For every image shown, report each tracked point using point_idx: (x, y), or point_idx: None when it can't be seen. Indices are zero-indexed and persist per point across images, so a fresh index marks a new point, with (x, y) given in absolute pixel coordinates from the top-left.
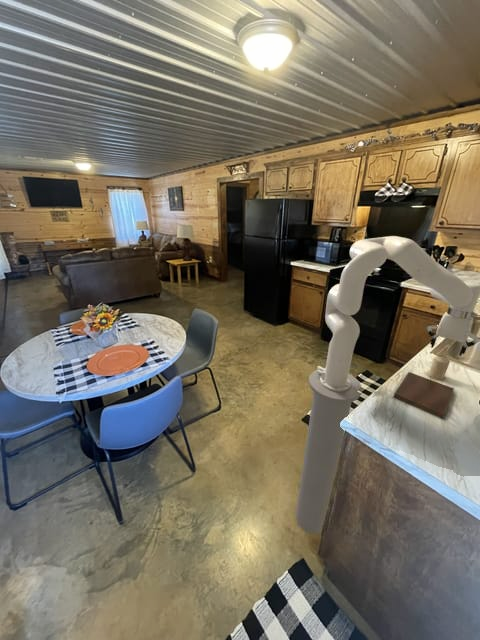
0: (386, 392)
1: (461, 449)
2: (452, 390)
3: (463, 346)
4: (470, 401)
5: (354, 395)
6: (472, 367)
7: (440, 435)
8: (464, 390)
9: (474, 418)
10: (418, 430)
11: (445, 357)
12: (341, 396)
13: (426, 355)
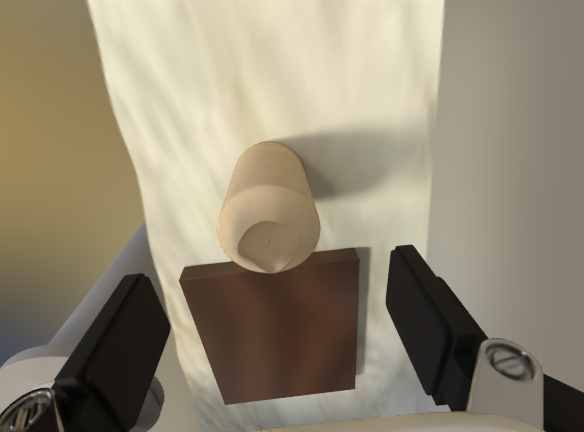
0: (202, 387)
1: (394, 414)
2: (357, 277)
3: (447, 395)
4: None
5: (153, 407)
6: None
7: (356, 412)
8: (394, 199)
9: None
10: None
11: (284, 225)
12: (139, 425)
13: None
